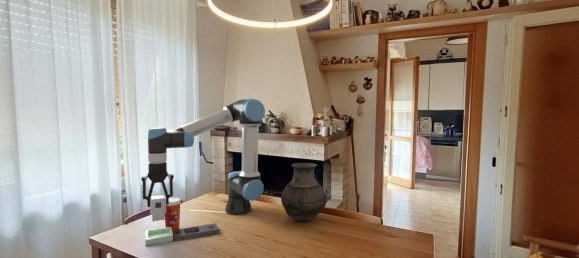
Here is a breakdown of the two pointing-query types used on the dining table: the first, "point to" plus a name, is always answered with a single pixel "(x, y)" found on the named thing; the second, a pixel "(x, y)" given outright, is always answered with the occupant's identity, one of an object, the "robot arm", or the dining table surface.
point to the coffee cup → (173, 213)
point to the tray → (159, 235)
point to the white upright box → (158, 208)
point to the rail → (202, 231)
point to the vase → (303, 194)
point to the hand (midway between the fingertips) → (158, 212)
